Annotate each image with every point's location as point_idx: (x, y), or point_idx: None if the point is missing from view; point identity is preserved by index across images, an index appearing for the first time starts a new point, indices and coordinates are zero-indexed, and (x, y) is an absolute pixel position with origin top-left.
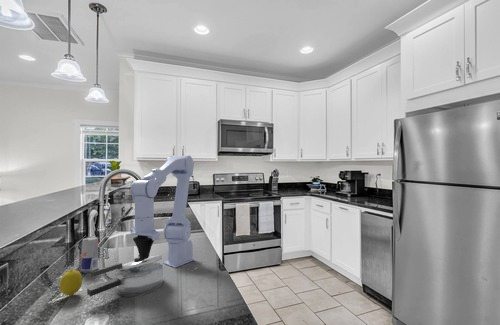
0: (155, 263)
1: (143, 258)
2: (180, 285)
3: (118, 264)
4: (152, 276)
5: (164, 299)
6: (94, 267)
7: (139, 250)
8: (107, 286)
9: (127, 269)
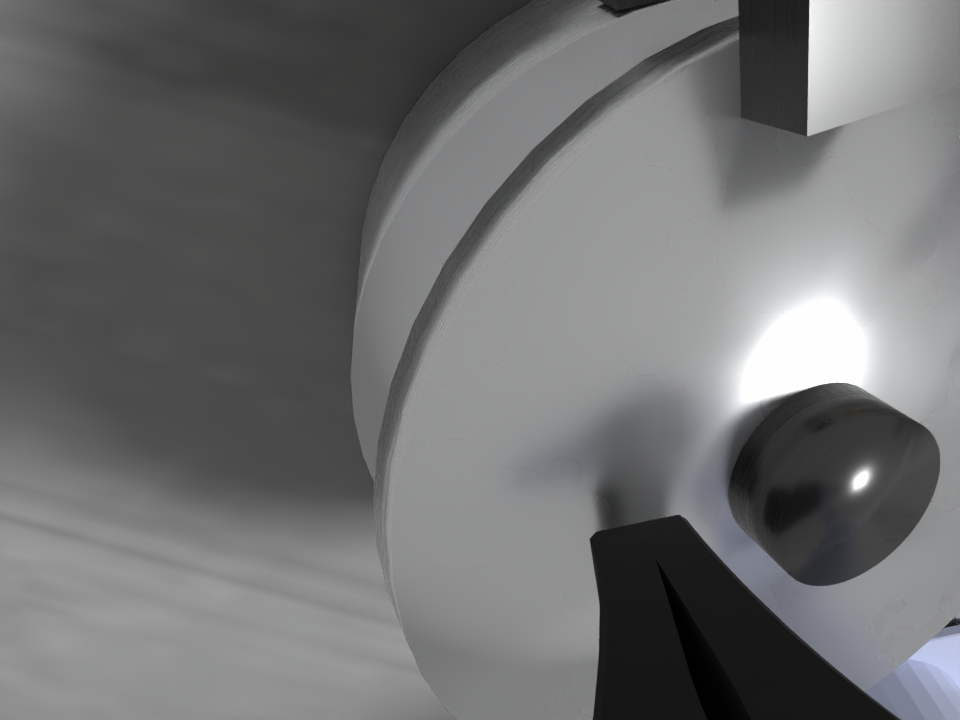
0: None
1: (596, 565)
2: (303, 589)
3: (808, 35)
4: (364, 453)
5: (81, 384)
6: None
7: (722, 666)
8: None
9: (514, 174)
